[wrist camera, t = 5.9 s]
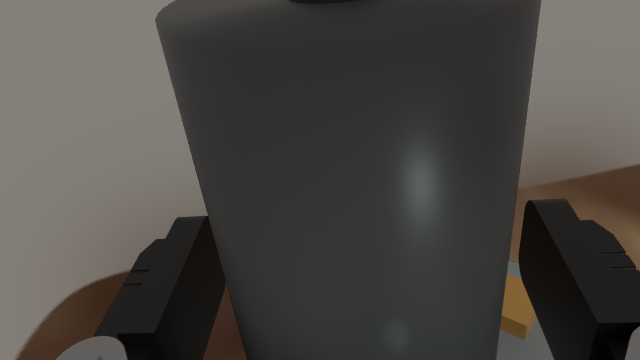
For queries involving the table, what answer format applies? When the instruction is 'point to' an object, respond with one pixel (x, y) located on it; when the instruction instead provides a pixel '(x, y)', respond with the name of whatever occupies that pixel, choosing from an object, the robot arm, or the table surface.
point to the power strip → (520, 323)
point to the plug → (357, 166)
